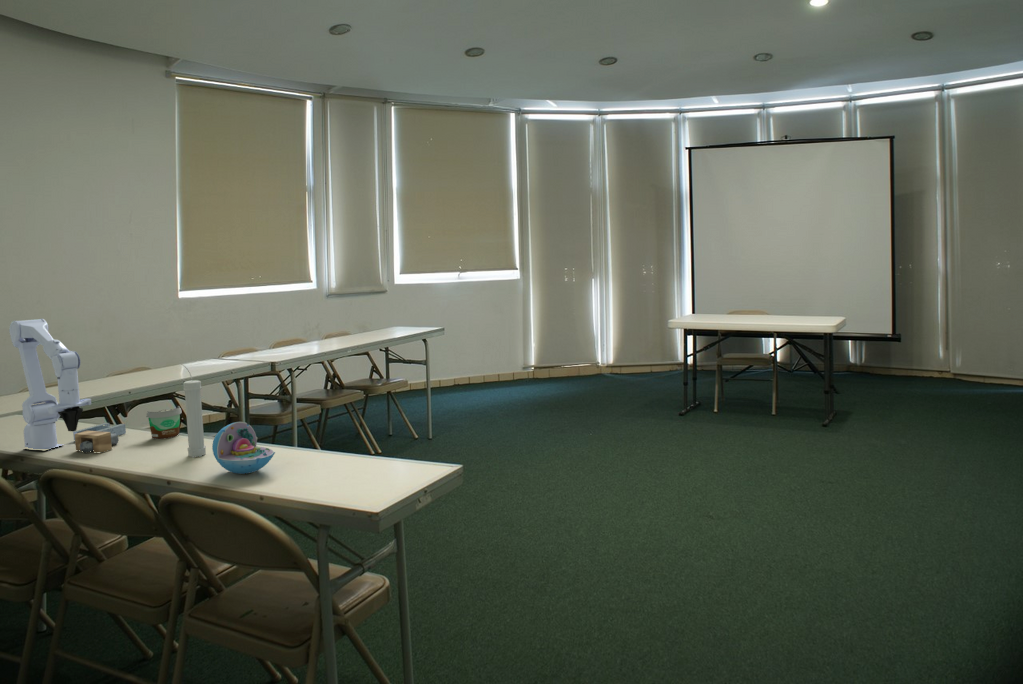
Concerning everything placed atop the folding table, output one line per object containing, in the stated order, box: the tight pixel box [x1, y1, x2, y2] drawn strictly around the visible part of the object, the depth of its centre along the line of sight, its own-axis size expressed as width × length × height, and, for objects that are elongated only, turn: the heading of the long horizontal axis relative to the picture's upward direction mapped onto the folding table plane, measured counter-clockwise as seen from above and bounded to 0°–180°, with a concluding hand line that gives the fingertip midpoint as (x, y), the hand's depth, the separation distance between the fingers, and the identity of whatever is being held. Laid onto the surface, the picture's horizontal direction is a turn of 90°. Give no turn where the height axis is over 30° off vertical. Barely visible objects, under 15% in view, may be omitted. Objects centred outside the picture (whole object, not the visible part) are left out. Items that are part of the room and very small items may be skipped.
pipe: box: [180, 363, 206, 458], centre depth 237 cm, size 6×6×30 cm
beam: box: [74, 431, 113, 453], centre depth 246 cm, size 10×5×6 cm, turn 73°
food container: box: [146, 405, 182, 440], centre depth 263 cm, size 12×6×10 cm, turn 143°
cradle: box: [72, 422, 127, 441], centre depth 264 cm, size 9×14×4 cm, turn 163°
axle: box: [80, 433, 120, 453], centre depth 249 cm, size 4×12×4 cm, turn 162°
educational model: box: [211, 421, 276, 475], centre depth 218 cm, size 16×19×15 cm
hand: (72, 430), depth 238 cm, fingers closed
